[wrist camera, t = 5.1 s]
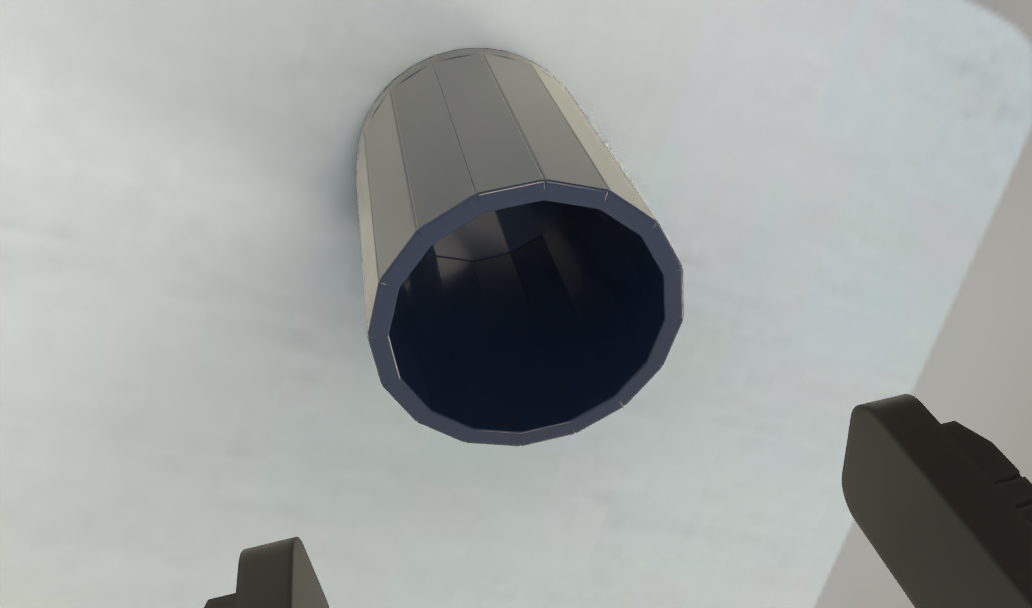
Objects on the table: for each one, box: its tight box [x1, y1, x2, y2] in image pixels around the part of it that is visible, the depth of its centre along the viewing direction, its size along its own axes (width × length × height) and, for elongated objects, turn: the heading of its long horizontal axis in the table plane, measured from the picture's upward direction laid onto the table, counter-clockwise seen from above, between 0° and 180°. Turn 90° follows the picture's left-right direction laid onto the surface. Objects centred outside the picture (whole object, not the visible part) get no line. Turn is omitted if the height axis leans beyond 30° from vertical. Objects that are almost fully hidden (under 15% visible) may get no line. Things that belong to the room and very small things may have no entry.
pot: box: [356, 48, 684, 446], centre depth 19 cm, size 6×6×8 cm
